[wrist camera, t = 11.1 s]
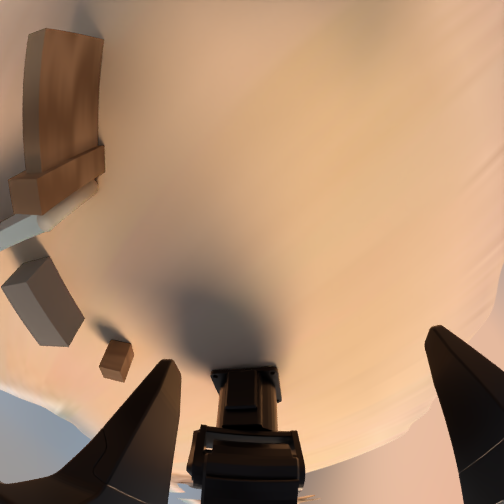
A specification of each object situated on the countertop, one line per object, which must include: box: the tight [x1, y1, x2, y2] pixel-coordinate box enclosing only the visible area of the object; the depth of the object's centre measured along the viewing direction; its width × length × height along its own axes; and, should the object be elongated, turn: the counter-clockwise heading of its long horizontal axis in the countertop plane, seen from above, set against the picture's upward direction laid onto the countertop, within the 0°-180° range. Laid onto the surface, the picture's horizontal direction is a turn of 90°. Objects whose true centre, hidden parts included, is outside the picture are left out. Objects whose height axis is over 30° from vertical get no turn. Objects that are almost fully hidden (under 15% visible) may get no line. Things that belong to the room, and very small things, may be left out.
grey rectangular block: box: [1, 257, 85, 347], centre depth 21 cm, size 7×4×4 cm, turn 11°
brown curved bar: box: [8, 28, 134, 382], centre depth 16 cm, size 27×2×7 cm, turn 173°
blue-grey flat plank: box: [0, 179, 98, 251], centre depth 16 cm, size 16×1×6 cm, turn 103°
